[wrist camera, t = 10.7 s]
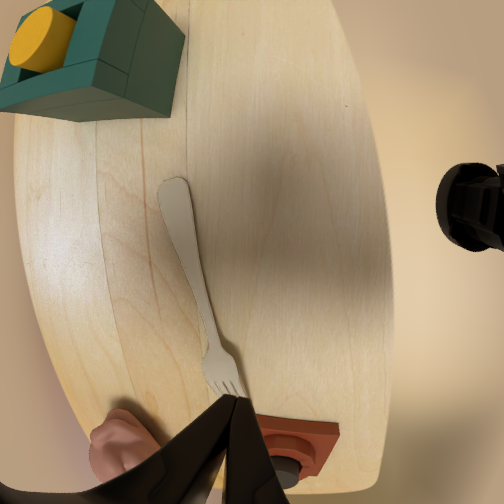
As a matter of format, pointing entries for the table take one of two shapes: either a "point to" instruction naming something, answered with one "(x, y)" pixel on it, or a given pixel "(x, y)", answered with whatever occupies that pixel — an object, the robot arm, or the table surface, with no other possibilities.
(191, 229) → the fork
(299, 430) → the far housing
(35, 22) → the cylinder
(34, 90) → the green push button box
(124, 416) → the figurine
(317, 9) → the table surface
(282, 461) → the far button
